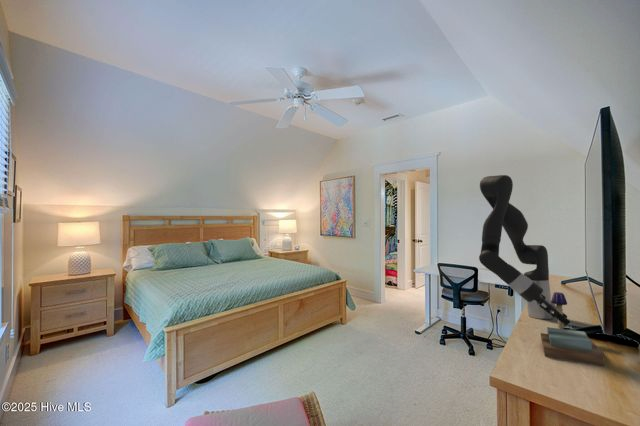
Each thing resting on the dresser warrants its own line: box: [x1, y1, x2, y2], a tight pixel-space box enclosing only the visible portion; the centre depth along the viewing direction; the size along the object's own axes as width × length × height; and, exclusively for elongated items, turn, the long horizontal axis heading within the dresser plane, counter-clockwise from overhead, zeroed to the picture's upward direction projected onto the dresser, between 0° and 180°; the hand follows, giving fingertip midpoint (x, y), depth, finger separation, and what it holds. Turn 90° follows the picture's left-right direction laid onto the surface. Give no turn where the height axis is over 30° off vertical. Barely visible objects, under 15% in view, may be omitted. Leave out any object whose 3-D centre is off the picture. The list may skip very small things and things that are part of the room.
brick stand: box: [540, 327, 605, 367], centre depth 93 cm, size 14×14×6 cm
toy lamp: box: [551, 291, 568, 329], centre depth 106 cm, size 5×5×17 cm
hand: (566, 320), depth 105 cm, fingers open, 6 cm apart
